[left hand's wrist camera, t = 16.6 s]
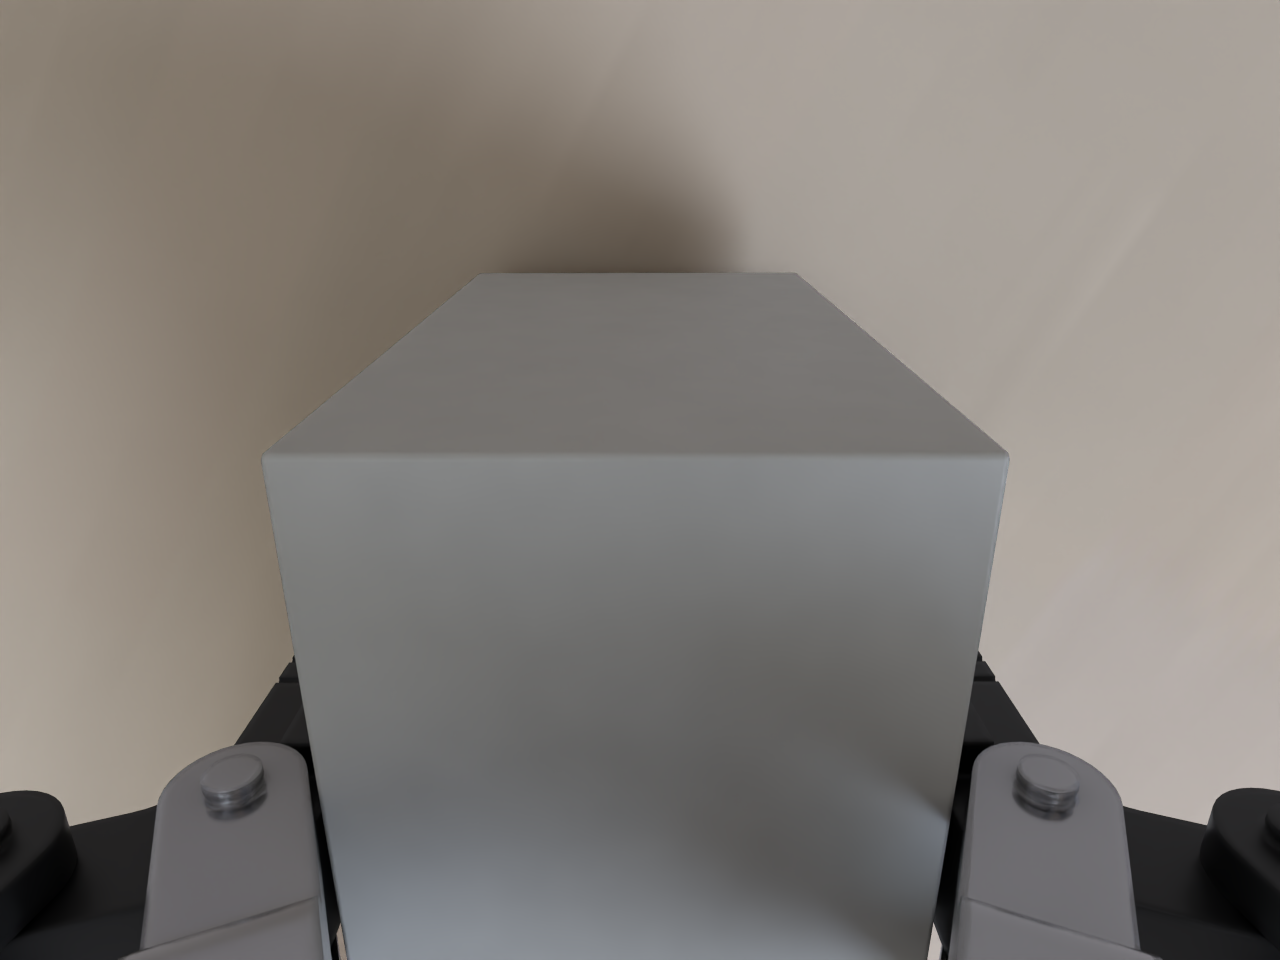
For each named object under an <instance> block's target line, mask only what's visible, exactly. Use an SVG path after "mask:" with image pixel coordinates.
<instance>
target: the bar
mask: <svg viewBox="0 0 1280 960" xmlns="http://www.w3.org/2000/svg"><path fill="white" fill-rule="evenodd" d="M1009 460H1010V458H1009V455H1008V452H1007V451H1006V450H1004V449H1003V448H1002V447H1001V446H1000V445H999V444H997V443H996V442H995V441H994V440H993V439H991V438H990V437H989V436H988V435H987V434H986V433H984V432H983V431H982V430H981V429H980V428H978V427H977V426H976V425H975V424H974V423H973V422H971V421H970V420H969V419H968V418H967V417H965V416H964V415H963V414H962V413H961V412H960V411H958V410H957V409H956V408H955V407H954V406H953V405H951V404H950V403H949V402H948V401H947V400H945V399H944V398H943V397H942V396H941V395H940V394H938V393H937V392H936V391H935V390H934V389H932V388H931V387H930V386H929V385H928V384H927V383H925V382H924V381H923V380H922V379H921V378H919V377H918V376H917V375H916V374H915V373H914V372H912V371H911V370H910V369H909V368H908V367H906V366H905V365H904V364H903V363H902V362H901V361H899V360H898V359H897V358H896V357H895V356H893V355H892V354H891V353H890V352H889V351H888V350H886V349H885V348H884V347H883V346H882V345H881V344H879V343H878V342H877V341H876V340H875V339H873V338H872V337H871V336H870V335H869V334H868V333H866V332H865V331H864V330H863V329H862V328H860V327H859V326H858V325H857V324H856V323H855V322H853V321H852V320H851V319H850V318H849V317H847V316H846V315H845V314H844V313H843V312H842V311H840V310H839V309H838V308H837V307H836V306H834V305H833V304H832V303H831V302H830V301H829V300H827V299H826V298H825V297H824V296H823V295H821V294H820V293H819V292H818V291H817V290H816V289H814V288H813V287H812V286H811V285H810V284H808V283H807V282H806V281H805V280H804V279H803V278H801V277H800V276H799V275H798V274H796V273H481V274H478V275H477V276H476V277H475V278H474V279H472V280H471V281H470V282H469V283H468V284H466V285H465V286H464V287H463V288H462V289H460V290H459V291H458V292H457V293H456V294H454V295H453V296H452V297H451V298H450V299H448V300H447V301H446V302H445V303H444V304H442V305H441V306H440V307H439V308H438V309H436V310H435V311H434V312H433V313H431V314H430V315H429V316H428V317H427V318H425V319H424V320H423V321H422V322H421V323H419V324H418V325H417V326H416V327H415V328H413V329H412V330H411V331H410V332H409V333H407V334H406V335H405V336H404V337H403V338H401V339H400V340H399V341H398V342H397V343H395V344H394V345H393V346H392V347H391V348H389V349H388V350H387V351H386V352H385V353H383V354H382V355H381V356H380V357H379V358H377V359H376V360H375V361H374V362H372V363H371V364H370V365H369V366H368V367H366V368H365V369H364V370H363V371H362V372H360V373H359V374H358V375H357V376H356V377H354V378H353V379H352V380H351V381H350V382H348V383H347V384H346V385H345V386H344V387H342V388H341V389H340V390H339V391H338V392H336V393H335V394H334V395H333V396H332V397H330V398H329V399H328V400H327V401H326V402H324V403H323V404H322V405H321V406H319V407H318V408H317V409H316V410H315V411H313V412H312V413H311V414H310V415H309V416H307V417H306V418H305V419H304V420H303V421H301V422H300V423H299V424H298V425H297V426H295V427H294V428H293V429H292V430H291V431H289V432H288V433H287V434H286V435H285V436H283V437H282V438H281V439H280V440H279V441H277V442H276V443H275V444H274V445H273V446H271V447H270V448H269V449H268V450H267V451H265V452H264V453H263V455H262V458H261V464H262V469H263V475H264V481H265V487H266V493H267V498H268V504H269V510H270V516H271V521H272V527H273V533H274V539H275V545H276V550H277V556H278V562H279V568H280V574H281V579H282V585H283V591H284V597H285V602H286V608H287V614H288V620H289V626H290V631H291V637H292V643H293V649H294V655H295V660H296V666H297V672H298V678H299V684H300V689H301V695H302V701H303V707H304V712H305V718H306V724H307V730H308V736H309V741H310V747H311V753H312V759H313V765H314V770H315V776H316V782H317V788H318V793H319V799H320V805H321V811H322V817H323V822H324V828H325V834H326V840H327V846H328V851H329V857H330V863H331V869H332V874H333V880H334V886H335V892H336V898H337V903H338V909H339V915H340V921H341V927H342V932H343V938H344V944H345V950H346V956H347V960H927V957H928V951H929V945H930V939H931V933H932V927H933V921H934V915H935V909H936V903H937V896H938V890H939V884H940V878H941V872H942V866H943V860H944V854H945V848H946V842H947V836H948V830H949V824H950V818H951V812H952V806H953V800H954V794H955V787H956V781H957V775H958V769H959V763H960V757H961V751H962V745H963V739H964V733H965V727H966V721H967V715H968V709H969V703H970V697H971V691H972V684H973V678H974V672H975V666H976V660H977V654H978V648H979V642H980V636H981V630H982V624H983V618H984V612H985V606H986V600H987V594H988V588H989V582H990V575H991V569H992V563H993V557H994V551H995V545H996V539H997V533H998V527H999V521H1000V515H1001V509H1002V503H1003V497H1004V491H1005V485H1006V479H1007V472H1008V466H1009Z"/></svg>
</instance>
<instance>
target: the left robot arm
mask: <svg viewBox="0 0 1280 960" xmlns="http://www.w3.org/2000/svg"><path fill="white" fill-rule="evenodd" d="M933 922H934V925H935V927H936V930H937V933H938V935H939V938H940V941H941V943H942V945H941V951H940V956H939V960H1280V791H1276V790H1270V789H1263V788H1241V789H1235V790H1231V791H1228V792H1226V793H1224V794H1222V795H1221V796H1220V797H1219V798H1218V799H1216V801H1215V803H1214V805H1213V808H1212V811H1211V815H1210V818H1209V821H1208V824H1207V825H1203V824H1198V823H1194V822H1189V821H1185V820H1180V819H1175V818H1171V817H1166V816H1162V815H1157V814H1153V813H1148V812H1144V811H1140V810H1136V809H1132V808H1128V807H1125V806H1123V804H1122V801H1121V797H1120V795H1119V793H1118V792H1117V790H1116V788H1115V787H1114V786H1113V784H1112V783H1111V782H1110V781H1109V780H1108V779H1107V778H1106V777H1105V776H1104V775H1103V774H1102V773H1101V772H1100V771H1098V770H1097V769H1096V768H1095V767H1093V766H1092V765H1090V764H1089V763H1087V762H1085V761H1084V760H1082V759H1080V758H1078V757H1076V756H1074V755H1072V754H1070V753H1068V752H1065V751H1062V750H1060V749H1057V748H1053V747H1050V746H1046V745H1042V744H1039V742H1038V741H1037V739H1036V738H1035V736H1034V735H1033V733H1032V732H1031V730H1030V729H1029V727H1028V726H1027V724H1026V723H1025V721H1024V720H1023V718H1022V717H1021V715H1020V714H1019V712H1018V710H1017V709H1016V707H1015V706H1014V704H1013V703H1012V701H1011V700H1010V698H1009V697H1008V695H1007V694H1006V692H1005V691H1004V689H1003V688H1002V686H1001V685H1000V683H999V682H996V681H995V675H994V674H993V672H992V671H991V669H990V668H989V666H988V665H987V663H986V662H985V661H982V656H981V654H980V653H979V651H978V654H977V660H976V666H975V672H974V678H973V684H972V691H971V697H970V703H969V709H968V715H967V721H966V727H965V733H964V739H963V745H962V751H961V757H960V763H959V769H958V775H957V781H956V787H955V794H954V800H953V806H952V812H951V818H950V824H949V830H948V836H947V842H946V848H945V854H944V860H943V866H942V872H941V878H940V884H939V890H938V896H937V903H936V909H935V915H934V921H933ZM340 923H341V921H340V915H339V909H338V903H337V898H336V892H335V886H334V880H333V874H332V869H331V863H330V857H329V851H328V846H327V840H326V834H325V828H324V822H323V817H322V811H321V805H320V799H319V793H318V788H317V782H316V776H315V770H314V765H313V759H312V753H311V747H310V741H309V736H308V730H307V724H306V718H305V712H304V707H303V701H302V695H301V689H300V684H299V678H298V672H297V666H296V660H295V655H294V656H293V661H292V663H289V664H288V665H287V667H286V668H285V670H284V671H283V673H282V674H281V676H280V677H279V683H275V685H274V686H273V688H272V689H271V691H270V692H269V694H268V695H267V697H266V698H265V700H264V701H263V703H262V704H261V706H260V707H259V709H258V710H257V712H256V713H255V715H254V716H253V718H252V719H251V721H250V722H249V724H248V725H247V727H246V728H245V730H244V731H243V733H242V734H241V736H240V737H239V739H238V740H237V742H236V743H235V745H234V746H230V747H227V748H223V749H220V750H218V751H215V752H212V753H210V754H208V755H206V756H204V757H202V758H200V759H198V760H196V761H195V762H193V763H191V764H190V765H188V766H187V767H185V768H184V769H183V770H182V771H180V772H179V773H178V774H177V775H176V776H175V777H174V778H173V779H172V780H171V781H170V782H169V783H168V784H167V786H166V787H165V788H164V790H163V792H162V793H161V795H160V797H159V801H158V804H157V805H156V806H153V807H150V808H148V809H144V810H140V811H136V812H133V813H128V814H124V815H119V816H115V817H110V818H106V819H101V820H96V821H92V822H87V823H83V824H78V825H74V826H69V824H68V821H67V818H66V814H65V811H64V808H63V806H62V804H61V802H60V801H59V800H57V799H56V798H55V797H53V796H51V795H49V794H47V793H43V792H39V791H27V790H26V791H11V792H5V793H0V960H341V956H340V951H339V945H338V939H337V934H336V933H337V931H338V928H339V925H340Z"/></svg>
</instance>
